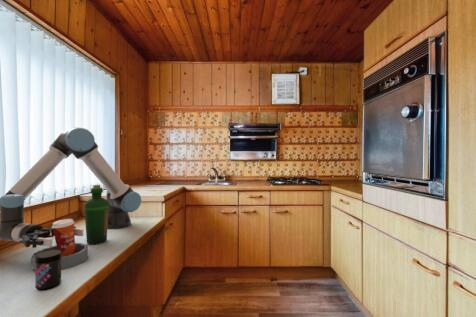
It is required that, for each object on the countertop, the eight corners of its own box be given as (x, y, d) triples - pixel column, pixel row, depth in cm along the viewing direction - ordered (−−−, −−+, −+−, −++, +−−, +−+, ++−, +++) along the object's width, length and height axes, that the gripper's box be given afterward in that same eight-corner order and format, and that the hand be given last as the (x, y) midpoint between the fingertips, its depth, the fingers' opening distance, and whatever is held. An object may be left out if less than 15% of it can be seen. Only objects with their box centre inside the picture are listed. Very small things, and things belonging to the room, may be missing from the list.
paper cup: (66, 259, 98) (62, 225, 97) (50, 258, 100) (46, 224, 98) (82, 250, 106) (79, 218, 104) (67, 249, 107) (63, 218, 106)
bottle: (114, 240, 125) (113, 184, 125) (95, 247, 115) (95, 186, 115) (98, 238, 129) (97, 183, 129) (78, 244, 119) (78, 186, 119)
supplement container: (34, 285, 80) (34, 253, 80) (60, 279, 85) (60, 248, 85) (35, 294, 75) (35, 259, 75) (62, 286, 80) (62, 254, 80)
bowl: (87, 250, 111) (87, 240, 111) (88, 264, 96) (88, 253, 96) (36, 259, 102) (36, 248, 102) (27, 276, 87) (27, 264, 87)
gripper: (57, 233, 116) (94, 237, 110) (-8, 252, 92) (34, 259, 86) (57, 217, 116) (94, 220, 110) (-8, 232, 92) (34, 237, 86)
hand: (68, 237), depth 98 cm, fingers open, 12 cm apart
